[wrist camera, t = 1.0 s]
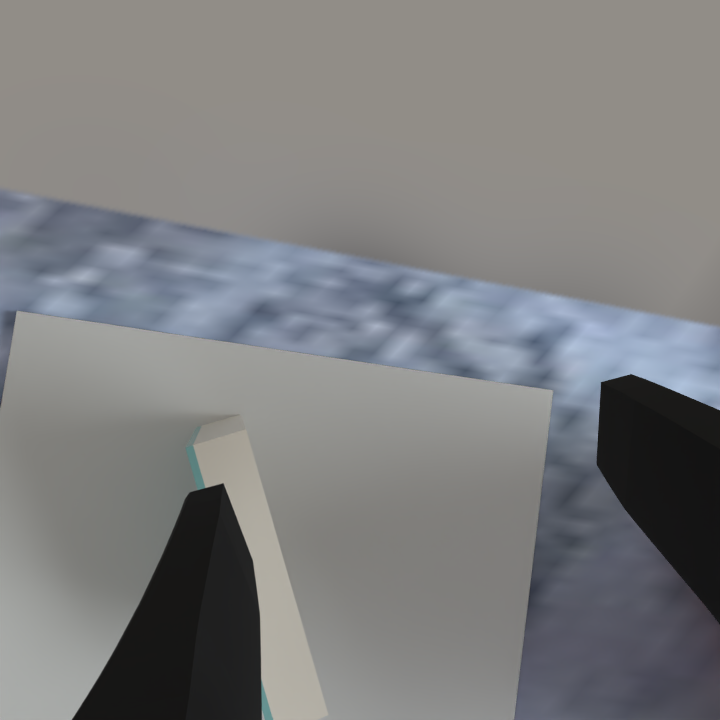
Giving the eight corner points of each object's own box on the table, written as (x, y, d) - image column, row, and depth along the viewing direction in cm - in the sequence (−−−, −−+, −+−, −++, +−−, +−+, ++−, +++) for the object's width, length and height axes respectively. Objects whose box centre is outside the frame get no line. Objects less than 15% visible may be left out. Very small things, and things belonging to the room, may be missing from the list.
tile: (300, 624, 22) (328, 714, 16) (258, 641, 22) (270, 739, 16) (240, 414, 22) (246, 429, 16) (196, 427, 21) (185, 447, 16)
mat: (548, 390, 25) (553, 390, 24) (506, 737, 24) (511, 744, 24) (20, 311, 21) (16, 310, 20) (-51, 731, 20) (-56, 738, 19)
